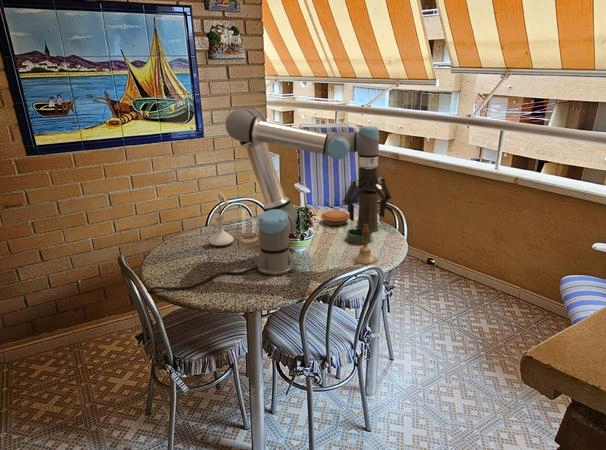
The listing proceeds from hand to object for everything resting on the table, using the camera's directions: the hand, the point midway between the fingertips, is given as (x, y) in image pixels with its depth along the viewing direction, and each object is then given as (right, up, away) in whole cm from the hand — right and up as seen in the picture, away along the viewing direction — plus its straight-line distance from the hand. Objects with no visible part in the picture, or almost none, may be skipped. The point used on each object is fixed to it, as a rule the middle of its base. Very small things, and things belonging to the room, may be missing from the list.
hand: (366, 218), depth 168 cm
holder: (+1, -10, +28) cm, 30 cm away
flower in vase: (-65, -12, +28) cm, 72 cm away
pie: (-9, +1, +52) cm, 52 cm away
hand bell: (0, -18, +6) cm, 19 cm away
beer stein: (+7, -4, +45) cm, 45 cm away
